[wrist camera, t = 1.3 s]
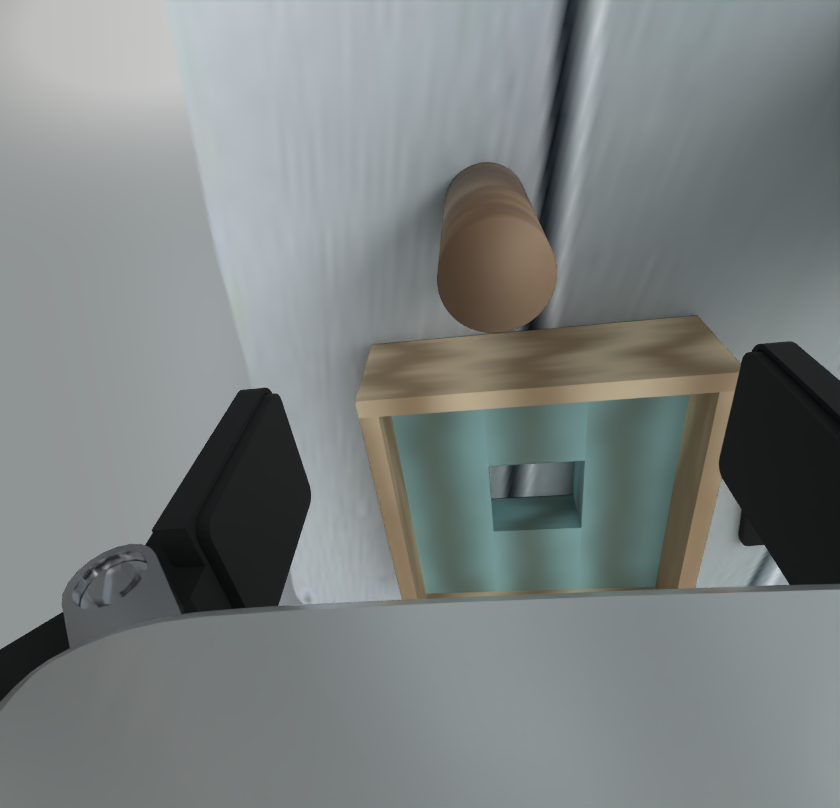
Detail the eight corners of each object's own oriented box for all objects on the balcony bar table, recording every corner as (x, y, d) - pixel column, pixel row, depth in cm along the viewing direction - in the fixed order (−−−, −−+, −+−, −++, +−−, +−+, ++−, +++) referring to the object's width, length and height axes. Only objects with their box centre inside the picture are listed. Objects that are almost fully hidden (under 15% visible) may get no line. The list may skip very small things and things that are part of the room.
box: (697, 315, 28) (747, 371, 24) (655, 561, 39) (683, 634, 34) (371, 344, 31) (354, 401, 26) (417, 569, 42) (411, 639, 37)
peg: (524, 157, 25) (557, 211, 16) (526, 241, 27) (556, 327, 19) (440, 168, 25) (430, 226, 17) (448, 250, 27) (443, 337, 19)
